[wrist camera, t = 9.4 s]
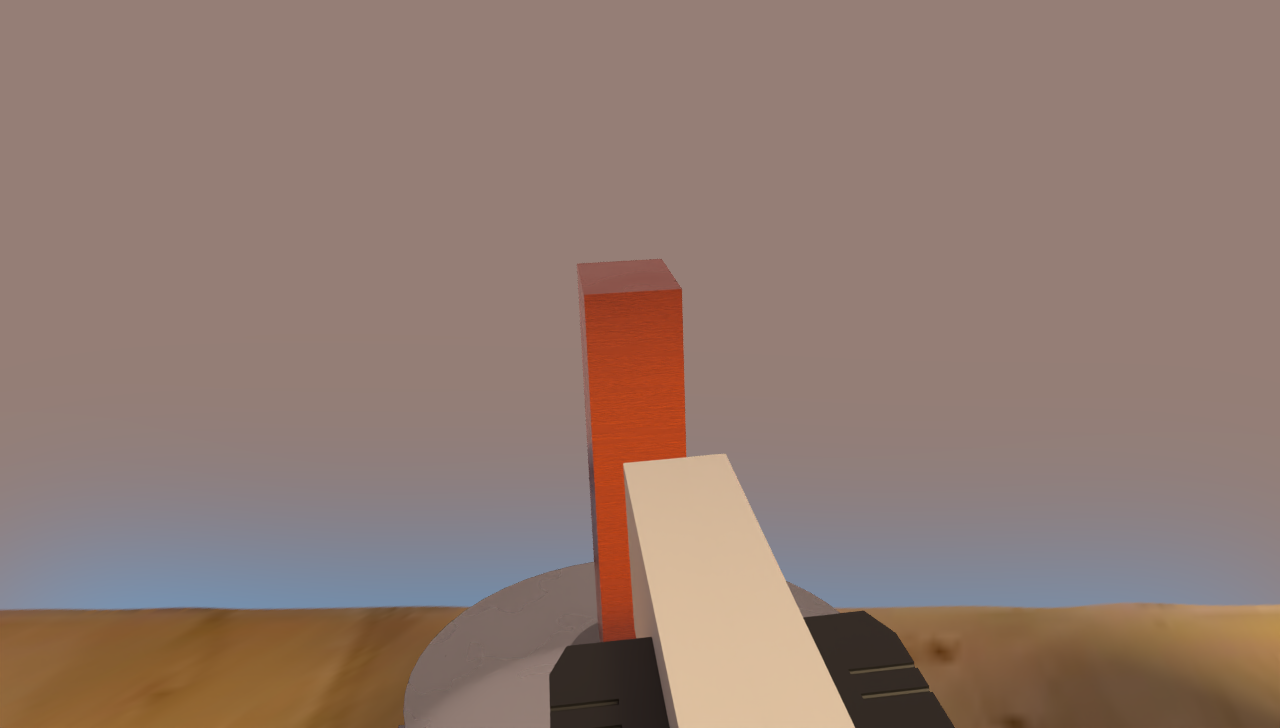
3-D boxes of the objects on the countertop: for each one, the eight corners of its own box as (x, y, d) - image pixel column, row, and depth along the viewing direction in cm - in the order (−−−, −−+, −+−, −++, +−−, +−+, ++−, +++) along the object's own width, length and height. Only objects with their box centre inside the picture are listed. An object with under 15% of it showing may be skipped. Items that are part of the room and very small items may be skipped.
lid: (808, 561, 37) (813, 221, 33) (965, 841, 23) (1002, 324, 20) (431, 594, 36) (391, 244, 32) (370, 908, 22) (290, 370, 18)
